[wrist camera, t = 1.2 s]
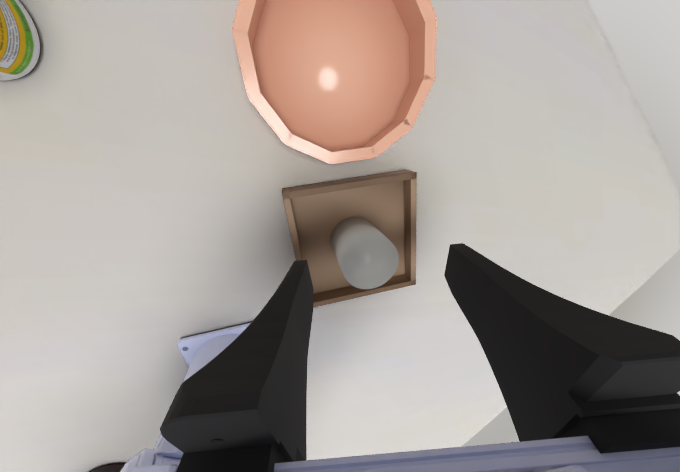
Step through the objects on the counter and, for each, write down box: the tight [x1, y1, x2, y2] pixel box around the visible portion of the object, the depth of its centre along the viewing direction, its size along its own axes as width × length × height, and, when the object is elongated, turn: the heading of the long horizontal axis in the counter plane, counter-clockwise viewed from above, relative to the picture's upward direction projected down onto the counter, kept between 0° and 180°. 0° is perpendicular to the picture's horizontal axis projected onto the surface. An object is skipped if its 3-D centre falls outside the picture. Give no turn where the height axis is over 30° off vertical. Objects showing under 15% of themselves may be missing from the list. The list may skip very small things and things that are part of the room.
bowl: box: [232, 0, 437, 164], centre depth 17 cm, size 13×13×3 cm
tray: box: [282, 170, 417, 307], centre depth 22 cm, size 11×11×2 cm
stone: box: [331, 216, 399, 289], centre depth 20 cm, size 4×4×5 cm
